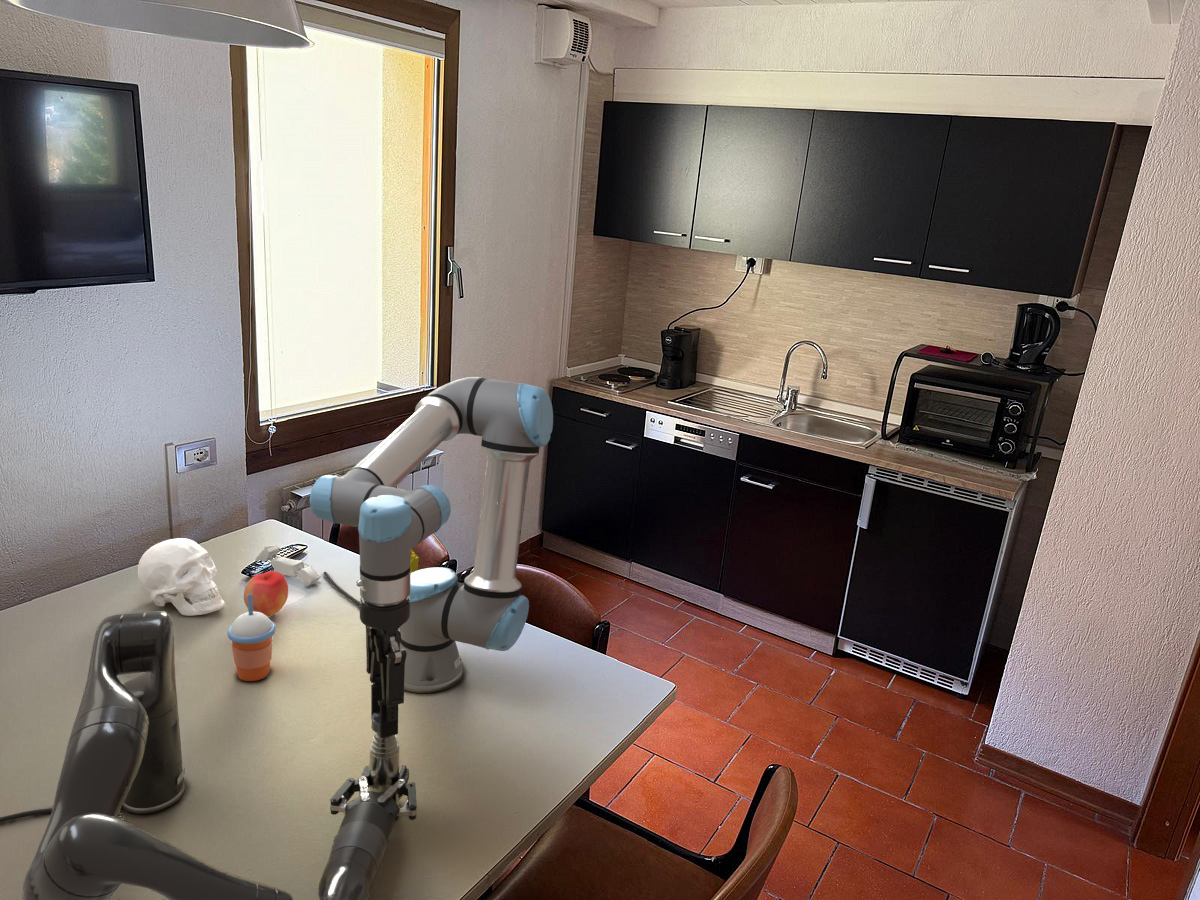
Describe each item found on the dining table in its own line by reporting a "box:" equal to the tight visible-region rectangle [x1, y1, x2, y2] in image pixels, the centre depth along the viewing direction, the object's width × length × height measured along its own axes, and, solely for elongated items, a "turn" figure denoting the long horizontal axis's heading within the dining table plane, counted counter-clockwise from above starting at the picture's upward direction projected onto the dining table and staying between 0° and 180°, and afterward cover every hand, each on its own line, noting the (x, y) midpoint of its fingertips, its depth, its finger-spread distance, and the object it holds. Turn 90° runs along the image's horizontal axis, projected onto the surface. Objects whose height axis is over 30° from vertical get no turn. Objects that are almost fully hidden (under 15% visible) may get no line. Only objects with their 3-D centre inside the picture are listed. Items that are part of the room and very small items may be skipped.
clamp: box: [254, 544, 322, 587], centre depth 219 cm, size 20×4×7 cm, turn 62°
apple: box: [243, 570, 289, 618], centre depth 199 cm, size 10×10×10 cm
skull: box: [137, 537, 226, 617], centre depth 200 cm, size 13×22×16 cm, turn 73°
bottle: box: [369, 731, 400, 807], centre depth 140 cm, size 5×5×18 cm
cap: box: [371, 710, 380, 733], centre depth 137 cm, size 4×4×2 cm
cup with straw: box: [226, 594, 276, 682], centre depth 175 cm, size 9×9×18 cm
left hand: (388, 768), depth 143 cm, fingers closed on bottle, 4 cm apart
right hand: (384, 726), depth 138 cm, fingers closed on cap, 4 cm apart
